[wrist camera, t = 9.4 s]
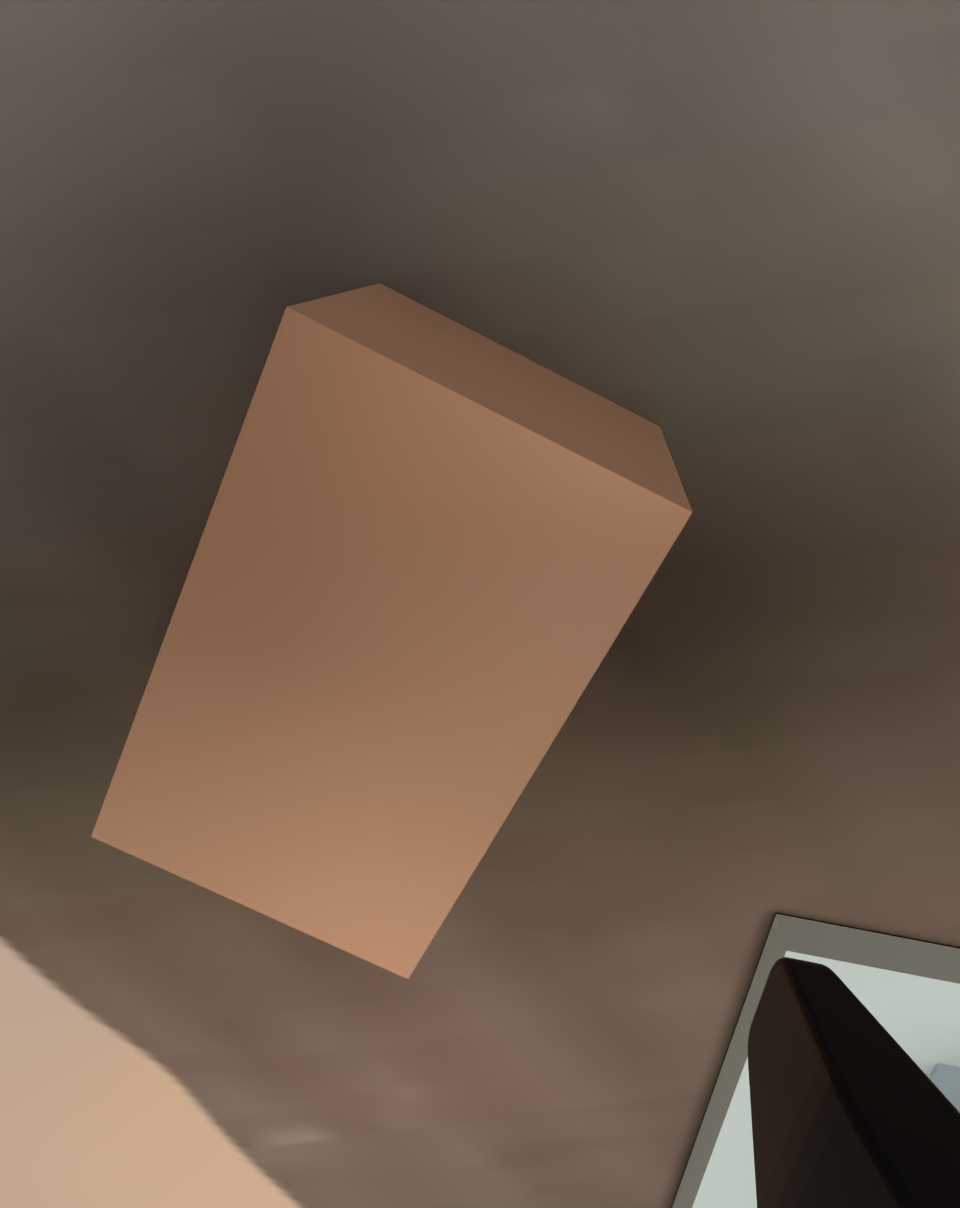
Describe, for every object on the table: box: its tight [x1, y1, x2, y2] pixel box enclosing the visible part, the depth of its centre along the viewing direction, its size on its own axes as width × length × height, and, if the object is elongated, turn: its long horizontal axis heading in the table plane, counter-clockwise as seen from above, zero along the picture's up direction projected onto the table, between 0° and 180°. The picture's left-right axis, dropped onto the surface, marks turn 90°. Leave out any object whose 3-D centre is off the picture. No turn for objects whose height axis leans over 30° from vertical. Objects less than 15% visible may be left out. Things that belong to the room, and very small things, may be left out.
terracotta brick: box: [91, 283, 692, 979], centre depth 14 cm, size 5×8×5 cm, turn 154°
